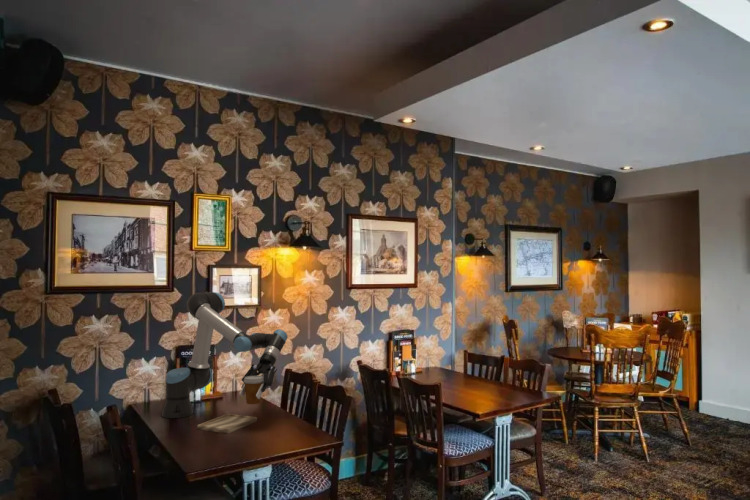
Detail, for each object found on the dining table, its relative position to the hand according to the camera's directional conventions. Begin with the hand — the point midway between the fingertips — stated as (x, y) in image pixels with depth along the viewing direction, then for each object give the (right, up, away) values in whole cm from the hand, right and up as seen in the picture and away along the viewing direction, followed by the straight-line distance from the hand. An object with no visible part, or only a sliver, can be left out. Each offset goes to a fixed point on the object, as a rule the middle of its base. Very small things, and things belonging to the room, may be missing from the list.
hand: (249, 396), depth 241 cm
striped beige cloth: (-13, -17, +9) cm, 23 cm away
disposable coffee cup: (+1, -4, +3) cm, 5 cm away
